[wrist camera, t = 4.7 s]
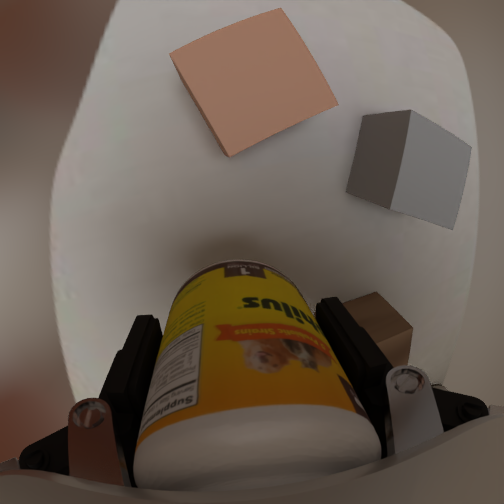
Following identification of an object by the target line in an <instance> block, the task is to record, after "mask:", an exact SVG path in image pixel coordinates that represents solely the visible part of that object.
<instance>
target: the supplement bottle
mask: <svg viewBox="0 0 504 504" xmlns="http://www.w3.org/2000/svg"><path fill="white" fill-rule="evenodd" d="M378 460H381V444H380V441H379V438H378V435H377V433H376V431H375V429H374V427H373V425H372V423H371V421H370V419H369V417H368V415H367V413H366V411H365V410H364V408H363V406H362V404H361V402H360V400H359V398H358V396H357V394H356V392H355V391H354V389H353V387H352V385H351V383H350V381H349V380H348V378H347V376H346V374H345V372H344V370H343V369H342V367H341V365H340V363H339V361H338V359H337V358H336V356H335V354H334V352H333V350H332V348H331V346H330V345H329V343H328V341H327V339H326V337H325V335H324V334H323V332H322V330H321V328H320V327H319V325H318V323H317V321H316V319H315V318H314V316H313V314H312V313H311V311H310V309H309V307H308V305H307V303H306V301H305V300H304V298H303V296H302V295H301V293H300V292H299V290H298V289H297V287H296V286H295V285H294V283H293V282H292V281H291V280H290V279H289V278H288V277H287V276H286V275H285V274H283V273H282V272H280V271H279V270H277V269H275V268H274V267H272V266H269V265H267V264H264V263H261V262H257V261H252V260H244V259H234V260H226V261H221V262H217V263H214V264H212V265H209V266H207V267H205V268H203V269H201V270H199V271H198V272H196V273H195V274H194V275H192V276H191V277H190V278H189V279H188V280H187V281H186V282H185V283H184V284H183V286H182V287H181V288H180V290H179V291H178V293H177V295H176V297H175V299H174V301H173V304H172V306H171V310H170V312H169V317H168V320H167V324H166V327H165V331H164V334H163V337H162V341H161V345H160V348H159V352H158V356H157V359H156V363H155V367H154V371H153V375H152V379H151V383H150V387H149V391H148V395H147V400H146V404H145V408H144V412H143V417H142V421H141V426H140V431H139V435H138V440H137V446H136V450H135V456H134V465H133V472H134V479H135V483H136V485H137V487H138V488H141V489H151V490H164V491H188V492H206V491H232V490H245V489H255V488H264V487H271V486H278V485H285V484H291V483H296V482H301V481H306V480H311V479H316V478H320V477H324V476H328V475H332V474H336V473H340V472H343V471H347V470H350V469H354V468H357V467H360V466H363V465H366V464H369V463H372V462H375V461H378Z"/></svg>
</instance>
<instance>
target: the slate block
mask: <svg viewBox="0 0 504 504" xmlns="http://www.w3.org/2000/svg"><path fill="white" fill-rule="evenodd" d="M471 149H472V147H471V146H470V145H468V144H467V143H465V142H464V141H462V140H461V139H459V138H458V137H456V136H455V135H453V134H452V133H450V132H449V131H447V130H445V129H444V128H442V127H441V126H439V125H437V124H436V123H434V122H432V121H431V120H429V119H427V118H425V117H424V116H422V115H420V114H418V113H417V112H415V111H413V110H404V111H395V112H386V113H379V114H372V115H365V116H363V118H362V123H361V128H360V133H359V138H358V142H357V147H356V151H355V156H354V160H353V164H352V169H351V173H350V177H349V181H348V185H347V189H346V192H347V193H350V194H352V195H355V196H358V197H360V198H363V199H365V200H368V201H370V202H373V203H375V204H378V205H380V206H383V207H385V208H388V209H390V210H394V211H397V212H400V213H403V214H406V215H409V216H412V217H416V218H419V219H422V220H425V221H428V222H430V223H433V224H436V225H439V226H442V227H445V228H448V229H450V230H453V228H454V225H455V221H456V218H457V214H458V210H459V207H460V203H461V199H462V195H463V190H464V186H465V181H466V177H467V172H468V167H469V161H470V155H471Z"/></svg>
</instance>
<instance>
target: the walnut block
mask: <svg viewBox="0 0 504 504" xmlns="http://www.w3.org/2000/svg"><path fill="white" fill-rule="evenodd" d="M342 304H343V305H344V306H345V308H346V309H347V310H348V312H349V313H350V314H351V316H352V317H353V318H354V319H355V321H356V322H357V323H358V325H359V326H360V327H363V328H364V329H365V330H366V331H367V333H368V334H369V335H370V337H371V338H372V339H373V340H374V342H375V343H376V344H377V346H378V347H379V348H380V350H381V351H382V352H383V354H384V355H385V356H386V358H387V359H388V360H389V362H390V363H391V364H392V366H393V367H394V368H395V367H397V366H403V365H408V359H409V353H410V346H411V339H412V332H413V327H412V326H411V325H410V324H409V323H408V322H407V321H406V320H405V319H404V318H403V317H402V316H401V315H400V314H399V313H398V312H397V311H396V310H395V309H394V308H393V307H392V306H391V305H390V304H389V303H388V302H387V301H386V300H385V299H384V298H383V297H382V296H381V295H380V294H379V293H378V292H374V293H371V294H368V295H365V296H363V297H360V298H357V299H354V300H351V301H348V302H345V303H342ZM314 314H315V318H316V312H314Z"/></svg>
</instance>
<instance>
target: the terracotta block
mask: <svg viewBox="0 0 504 504" xmlns="http://www.w3.org/2000/svg"><path fill="white" fill-rule="evenodd" d="M169 55H170V57H171V59H172V61H173V63H174V65H175V68H176V70H177V72H178V74H179V76H180V78H181V80H182V82H183V84H184V85H185V87H186V89H187V91H188V92H189V94H190V96H191V97H192V99H193V101H194V102H195V104H196V106H197V108H198V109H199V111H200V113H201V114H202V116H203V118H204V120H205V121H206V123H207V125H208V126H209V128H210V130H211V132H212V133H213V135H214V137H215V139H216V140H217V142H218V144H219V146H220V147H221V149H222V151H223V153H224V154H225V155H226V156H228V157H231V156H233V155H235V154H237V153H239V152H241V151H243V150H244V149H246V148H248V147H250V146H252V145H254V144H256V143H258V142H260V141H262V140H264V139H266V138H268V137H270V136H272V135H274V134H276V133H278V132H280V131H282V130H284V129H286V128H288V127H290V126H292V125H294V124H297V123H299V122H301V121H303V120H305V119H307V118H310V117H312V116H314V115H316V114H319V113H321V112H323V111H326V110H328V109H330V108H333V107H335V106H337V105H339V104H338V102H337V100H336V98H335V96H334V95H333V93H332V91H331V89H330V87H329V85H328V83H327V81H326V79H325V78H324V76H323V74H322V72H321V70H320V69H319V67H318V65H317V63H316V62H315V60H314V58H313V56H312V55H311V53H310V51H309V50H308V48H307V46H306V45H305V43H304V42H303V40H302V38H301V37H300V35H299V34H298V32H297V31H296V29H295V27H294V26H293V24H292V23H291V21H290V20H289V18H288V17H287V16H286V14H285V13H284V11H283V10H282V8H278V9H275V10H271V11H268V12H265V13H262V14H259V15H256V16H253V17H250V18H247V19H245V20H242V21H239V22H237V23H234V24H232V25H229V26H227V27H224V28H222V29H219V30H217V31H215V32H212V33H210V34H208V35H206V36H203V37H201V38H199V39H197V40H195V41H193V42H191V43H189V44H187V45H185V46H183V47H181V48H179V49H177V50H175V51H173V52H171V53H169Z"/></svg>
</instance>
